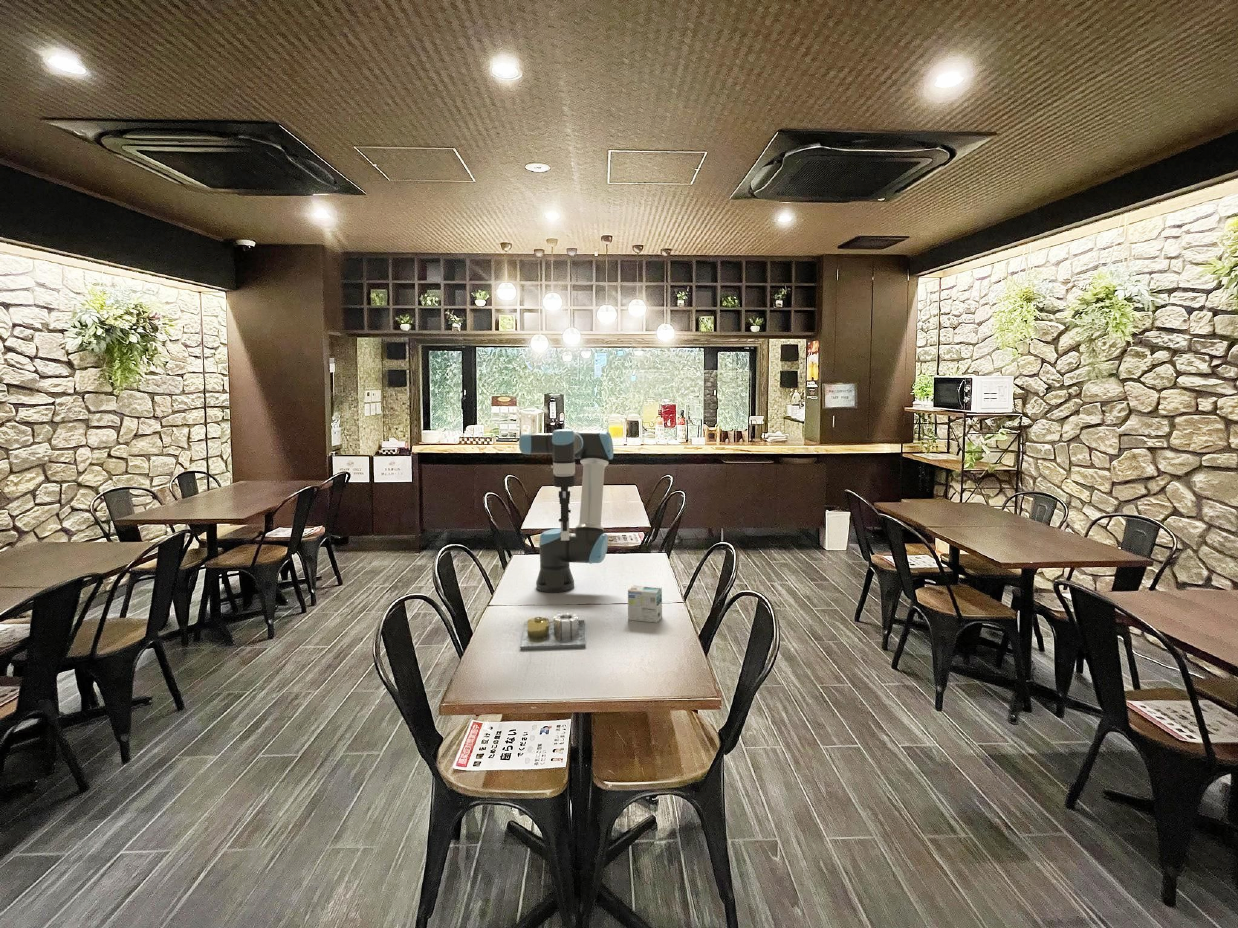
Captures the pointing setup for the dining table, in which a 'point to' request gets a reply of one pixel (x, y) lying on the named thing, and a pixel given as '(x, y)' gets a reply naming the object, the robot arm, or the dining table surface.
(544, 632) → the carrier
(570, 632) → the planet gear
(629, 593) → the light bulb box
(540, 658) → the dining table surface
